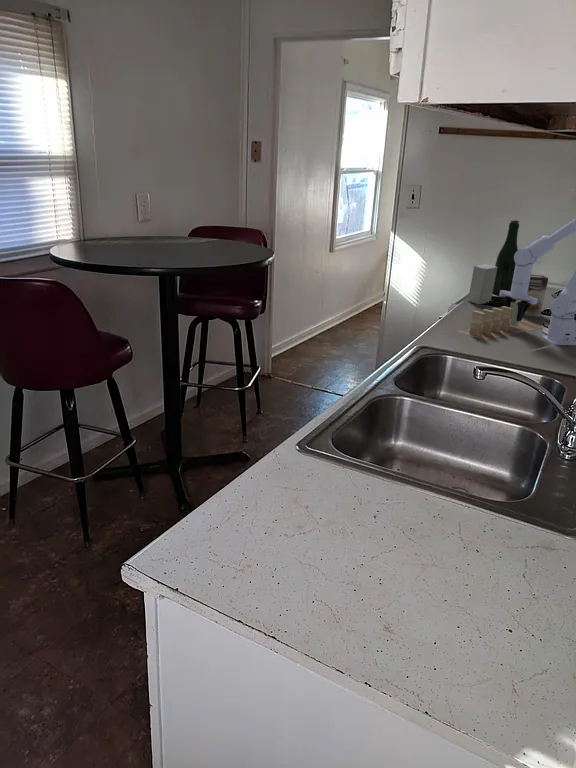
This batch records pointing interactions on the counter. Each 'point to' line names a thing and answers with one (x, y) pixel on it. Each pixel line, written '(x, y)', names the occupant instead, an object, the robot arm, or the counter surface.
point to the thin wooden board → (522, 327)
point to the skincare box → (482, 283)
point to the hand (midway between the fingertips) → (513, 319)
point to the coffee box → (536, 294)
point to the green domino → (514, 314)
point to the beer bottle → (506, 260)
